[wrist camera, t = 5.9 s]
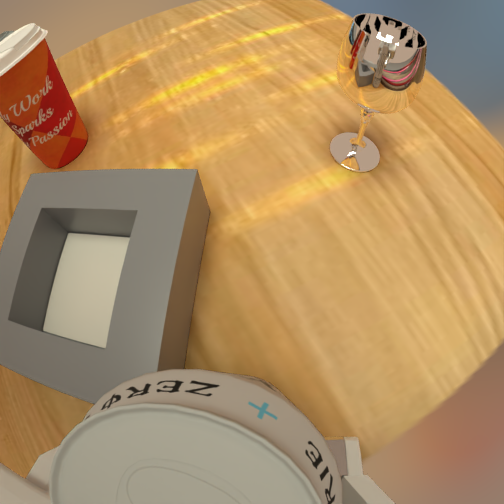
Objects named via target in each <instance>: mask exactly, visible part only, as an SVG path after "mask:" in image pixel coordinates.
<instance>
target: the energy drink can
mask: <svg viewBox="0 0 504 504" xmlns="http://www.w3.org/2000/svg"><path fill="white" fill-rule="evenodd" d="M49 495H50V500H51V504H342V480H341V476H340V472H339V469H338V465H337V461H336V459H335V457H334V455H333V453H332V451H331V449H330V447H329V446H328V444H327V442H326V440H325V438H324V437H323V436H322V434H321V433H320V432H319V431H318V430H317V429H316V427H315V426H314V425H313V424H312V423H311V421H310V420H309V419H308V418H307V417H306V416H305V415H304V414H303V413H302V412H301V411H300V410H299V409H298V408H297V407H296V406H295V405H294V404H293V403H292V402H291V401H290V400H288V399H287V398H286V397H285V396H284V395H283V394H282V393H281V392H280V391H279V390H278V389H277V388H276V387H274V386H273V385H272V384H270V383H268V382H266V381H265V380H263V379H260V378H257V377H254V376H246V375H239V374H231V373H223V372H216V371H209V370H202V369H169V370H164V371H158V372H152V373H146V374H143V375H141V376H138V377H136V378H133V379H131V380H128V381H125V382H123V383H121V384H120V385H118V386H117V387H115V388H114V389H112V390H111V391H109V392H108V393H106V394H104V395H103V396H102V397H101V398H100V399H99V400H98V401H97V402H96V404H95V405H94V406H93V407H92V408H91V409H90V410H89V411H88V412H87V414H86V416H85V418H84V419H83V421H82V422H81V423H79V424H77V425H76V426H75V427H74V428H73V429H72V430H71V431H70V433H69V434H68V435H67V436H66V437H65V438H64V439H63V440H62V442H61V444H60V446H59V448H58V450H57V452H56V453H55V455H54V458H53V462H52V466H51V471H50V475H49Z"/></svg>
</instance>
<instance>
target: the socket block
mask: <svg viewBox="0 0 504 504" xmlns="http://www.w3.org/2000/svg"><path fill="white" fill-rule="evenodd" d="M209 215H210V209H209V206H208V203H207V199H206V196H205V193H204V190H203V186H202V183H201V180H200V177H199V173H198V170H197V169H110V170H84V171H65V172H50V173H37V174H31V176H30V178H29V180H28V182H27V184H26V187H25V189H24V191H23V193H22V196H21V198H20V200H19V203H18V205H17V207H16V210H15V212H14V215H13V217H12V220H11V222H10V225H9V228H8V230H7V233H6V236H5V239H4V242H3V245H2V248H1V251H0V365H2V366H4V367H6V368H8V369H10V370H12V371H14V372H16V373H18V374H21V375H23V376H25V377H27V378H29V379H31V380H34V381H36V382H38V383H41V384H43V385H45V386H48V387H50V388H52V389H55V390H57V391H60V392H62V393H65V394H68V395H70V396H73V397H76V398H78V399H81V400H84V401H87V402H90V403H93V404H96V402H97V401H98V400H99V399H100V398H101V397H102V396H103V395H104V394H106V393H108V392H109V391H111V390H112V389H114V388H115V387H117V386H118V385H120V384H121V383H123V382H125V381H128V380H131V379H133V378H136V377H138V376H141V375H143V374H146V373H152V372H158V371H164V370H169V369H184V365H185V358H186V351H187V344H188V337H189V331H190V324H191V318H192V311H193V305H194V299H195V293H196V287H197V281H198V275H199V269H200V264H201V258H202V253H203V247H204V242H205V236H206V231H207V226H208V221H209Z"/></svg>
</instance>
